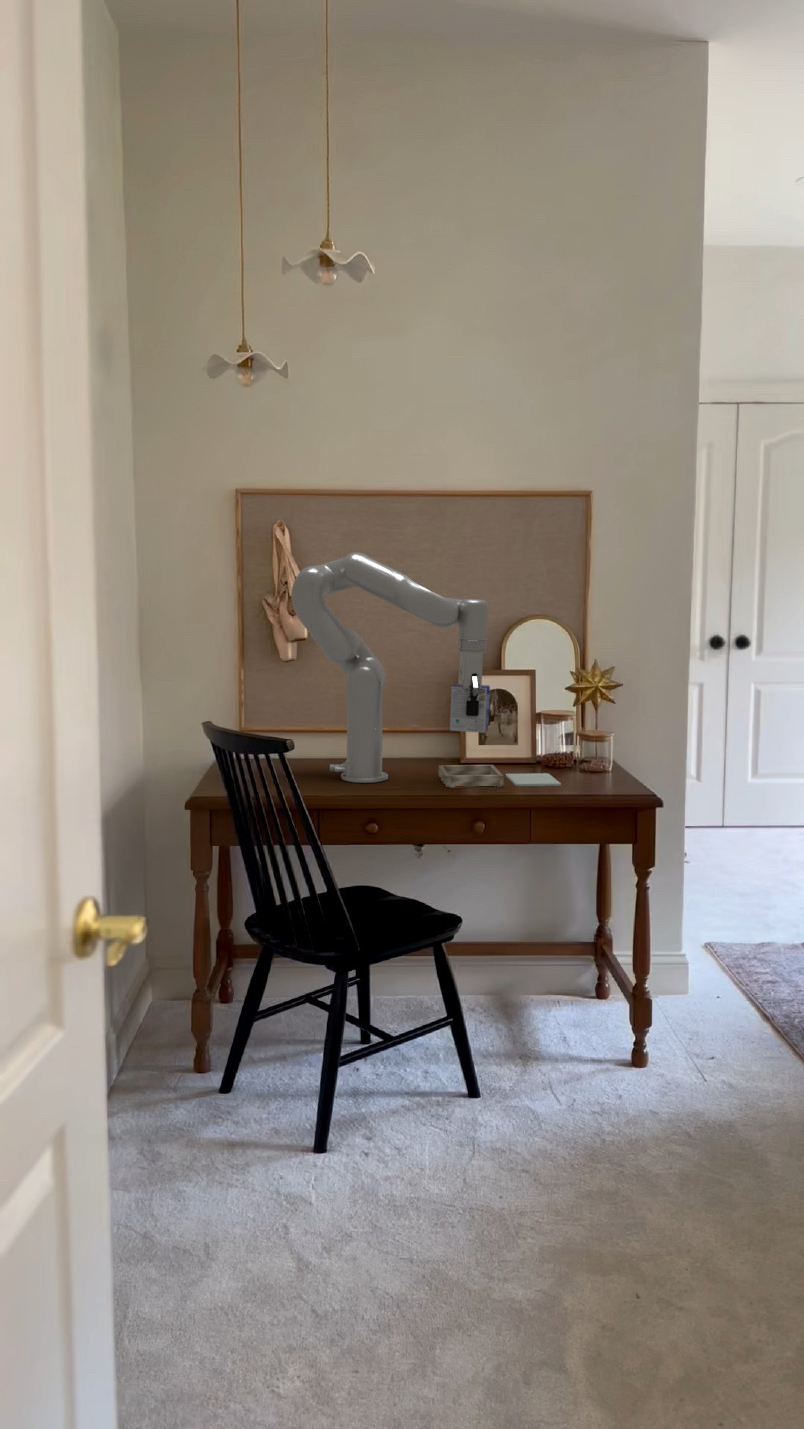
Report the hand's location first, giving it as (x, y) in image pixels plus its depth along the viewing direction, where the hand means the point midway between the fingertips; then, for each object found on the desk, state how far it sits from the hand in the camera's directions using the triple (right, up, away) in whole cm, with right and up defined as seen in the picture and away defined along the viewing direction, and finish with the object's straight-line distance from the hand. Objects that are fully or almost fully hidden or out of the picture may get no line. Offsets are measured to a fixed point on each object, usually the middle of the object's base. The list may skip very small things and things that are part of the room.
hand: (469, 713), depth 291 cm
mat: (+17, -18, +4) cm, 25 cm away
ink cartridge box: (0, -5, +1) cm, 5 cm away
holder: (0, -18, +3) cm, 18 cm away
